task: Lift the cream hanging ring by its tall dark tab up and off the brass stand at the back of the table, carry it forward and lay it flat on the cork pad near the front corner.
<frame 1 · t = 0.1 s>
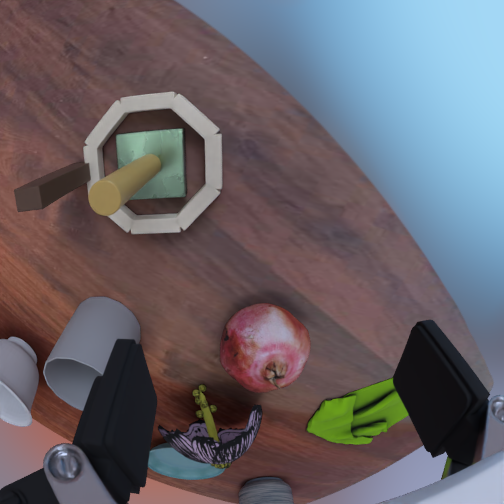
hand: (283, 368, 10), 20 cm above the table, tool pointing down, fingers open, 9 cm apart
decorative flower: (215, 401, 40), on the table
cup: (108, 325, 33), on the table
cloth: (366, 416, 45), on the table
fruit: (261, 324, 34), on the table
vase: (263, 482, 55), on the table
ring: (152, 163, 26), on the table
stand: (152, 163, 26), on the table
teacup: (20, 354, 35), on the table
saucer: (184, 453, 46), on the table
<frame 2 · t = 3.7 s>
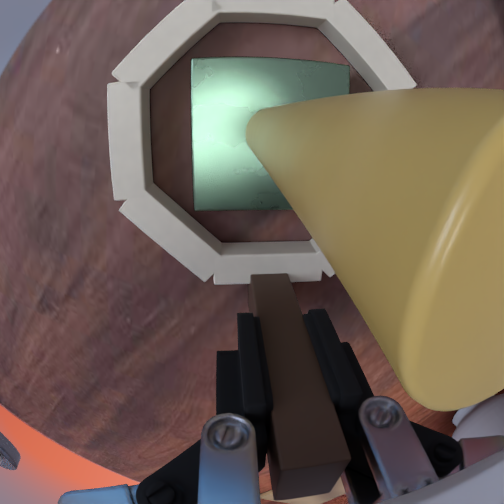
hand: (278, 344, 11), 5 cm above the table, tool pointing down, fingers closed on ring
cork pad: (323, 486, 28), on the table
ring: (268, 132, 12), on the table, touching gripper
stand: (268, 132, 12), on the table
teacup: (472, 408, 25), on the table
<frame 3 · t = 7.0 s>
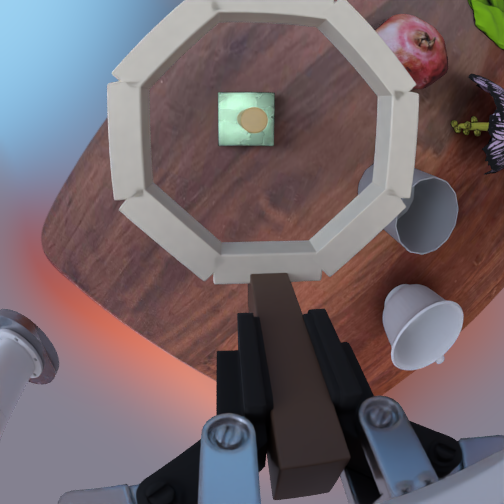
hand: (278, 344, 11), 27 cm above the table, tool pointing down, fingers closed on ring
decorative flower: (470, 118, 33), on the table
cup: (385, 190, 37), on the table
fruit: (393, 55, 29), on the table
ring: (268, 131, 12), point 22 cm above the table, touching gripper
stand: (245, 118, 32), on the table
teacup: (402, 303, 45), on the table
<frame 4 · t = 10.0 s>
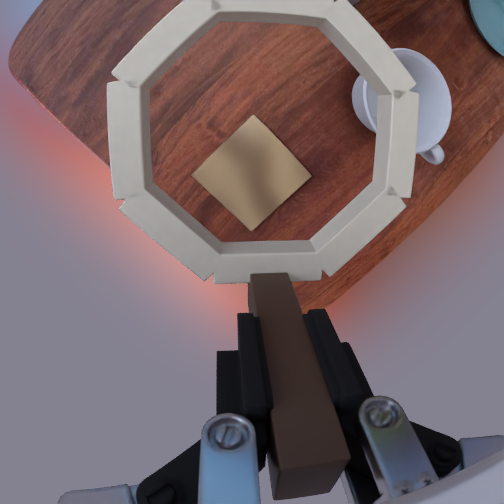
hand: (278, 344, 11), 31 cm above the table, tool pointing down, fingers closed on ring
cork pad: (252, 174, 39), on the table
ring: (268, 131, 12), point 27 cm above the table, touching gripper
teacup: (378, 109, 36), on the table
saucer: (488, 20, 29), on the table
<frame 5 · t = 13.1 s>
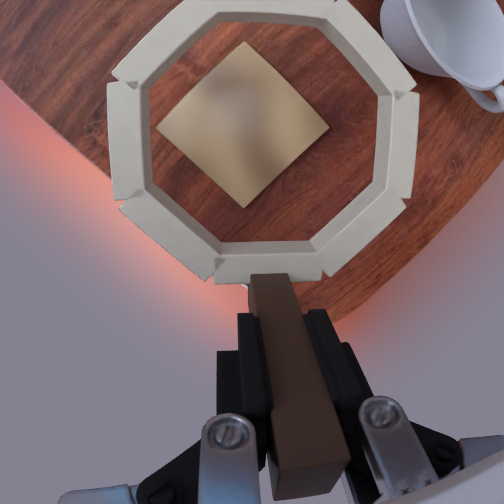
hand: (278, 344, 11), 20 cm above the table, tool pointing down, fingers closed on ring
cork pad: (243, 124, 26), on the table
ring: (268, 131, 12), point 15 cm above the table, touching gripper
teacup: (411, 47, 23), on the table
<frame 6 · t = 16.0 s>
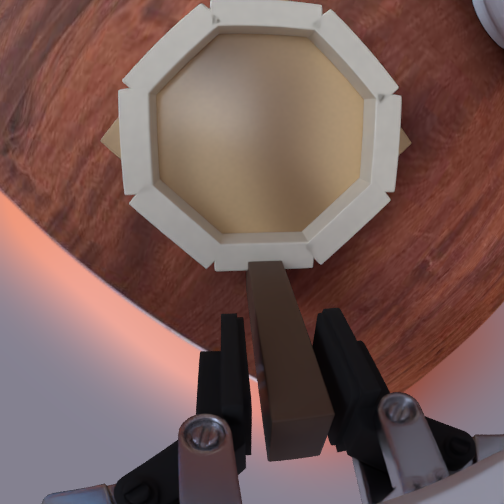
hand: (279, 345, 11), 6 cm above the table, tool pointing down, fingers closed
cork pad: (263, 130, 14), on the table
ring: (263, 133, 13), on the table, touching cork pad
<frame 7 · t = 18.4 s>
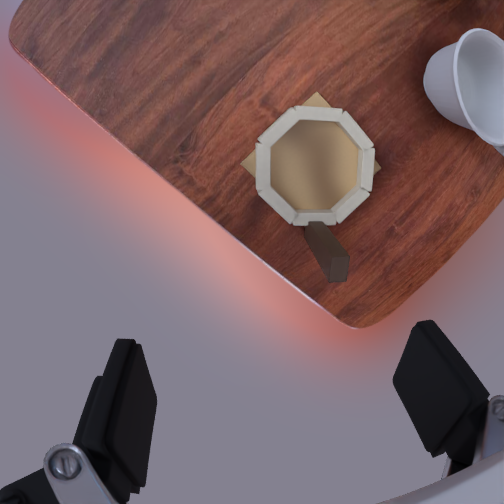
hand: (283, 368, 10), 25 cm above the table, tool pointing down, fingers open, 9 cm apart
cork pad: (314, 163, 31), on the table
ring: (314, 165, 31), on the table, touching cork pad
teacup: (445, 96, 28), on the table
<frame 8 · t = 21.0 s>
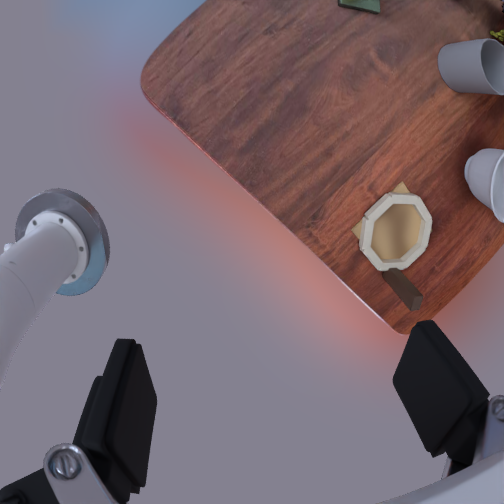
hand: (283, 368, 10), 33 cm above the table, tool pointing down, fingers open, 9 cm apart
decorative flower: (501, 34, 30), on the table
cup: (455, 68, 34), on the table
cork pad: (394, 229, 45), on the table
ring: (395, 231, 45), on the table, touching cork pad
teacup: (476, 177, 42), on the table
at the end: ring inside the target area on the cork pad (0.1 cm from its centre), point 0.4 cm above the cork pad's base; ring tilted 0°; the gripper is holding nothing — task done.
